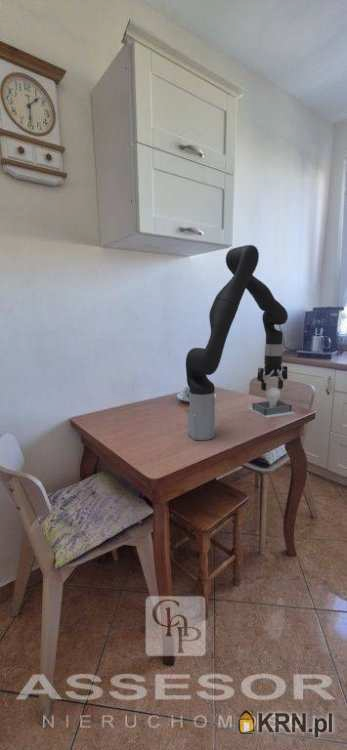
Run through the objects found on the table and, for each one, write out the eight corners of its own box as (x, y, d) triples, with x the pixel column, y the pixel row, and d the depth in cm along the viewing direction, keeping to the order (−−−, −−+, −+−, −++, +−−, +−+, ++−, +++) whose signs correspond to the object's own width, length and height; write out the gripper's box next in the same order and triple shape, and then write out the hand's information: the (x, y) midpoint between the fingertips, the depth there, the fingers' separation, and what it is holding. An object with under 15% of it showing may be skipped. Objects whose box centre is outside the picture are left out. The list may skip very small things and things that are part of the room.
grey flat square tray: (267, 418, 137) (267, 410, 136) (248, 408, 151) (248, 401, 150) (296, 413, 142) (296, 406, 141) (275, 404, 155) (275, 398, 155)
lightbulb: (263, 410, 146) (263, 387, 144) (270, 407, 150) (271, 385, 148) (275, 413, 142) (276, 389, 139) (282, 410, 146) (283, 387, 143)
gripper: (264, 356, 135) (263, 393, 138) (292, 354, 140) (290, 389, 143) (254, 354, 142) (253, 389, 145) (281, 352, 147) (280, 386, 150)
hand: (272, 389), depth 144 cm, fingers open, 8 cm apart
